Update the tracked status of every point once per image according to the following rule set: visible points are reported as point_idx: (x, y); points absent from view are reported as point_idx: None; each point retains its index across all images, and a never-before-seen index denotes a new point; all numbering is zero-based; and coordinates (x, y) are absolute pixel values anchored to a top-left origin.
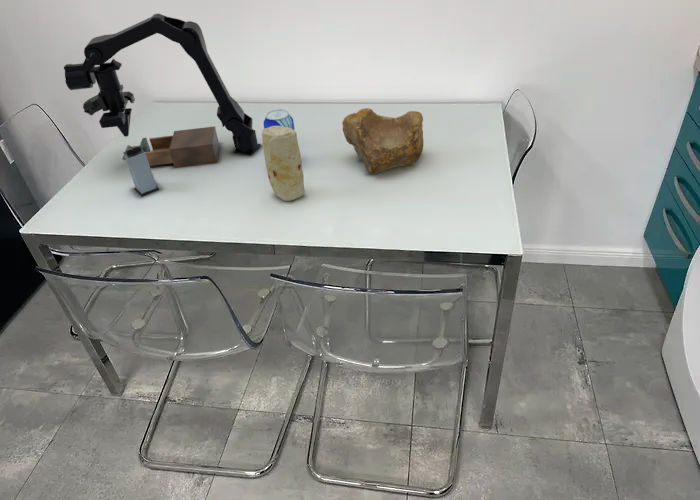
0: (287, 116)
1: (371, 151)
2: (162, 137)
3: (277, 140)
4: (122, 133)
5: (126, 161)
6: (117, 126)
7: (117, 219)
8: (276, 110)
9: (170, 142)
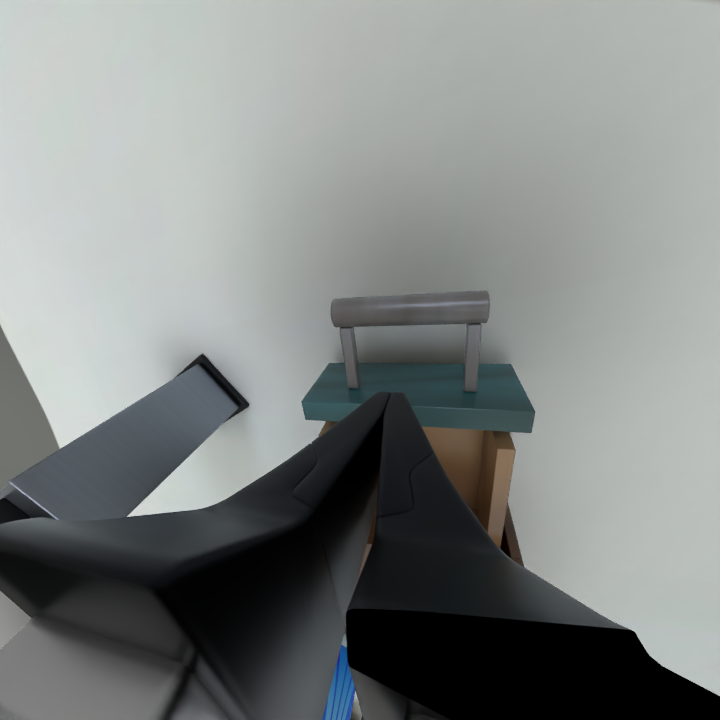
0: None
1: None
2: (494, 506)
3: None
4: (360, 407)
5: (72, 442)
6: (284, 466)
7: (58, 335)
8: None
9: (482, 501)
